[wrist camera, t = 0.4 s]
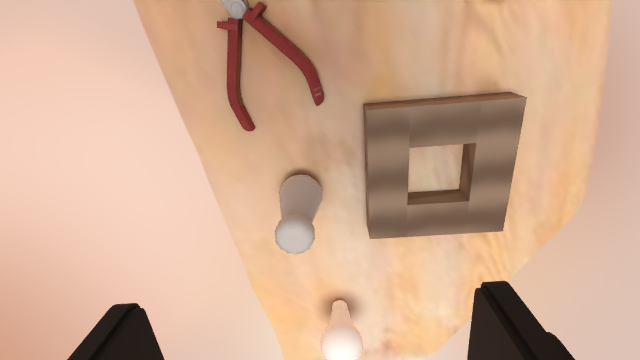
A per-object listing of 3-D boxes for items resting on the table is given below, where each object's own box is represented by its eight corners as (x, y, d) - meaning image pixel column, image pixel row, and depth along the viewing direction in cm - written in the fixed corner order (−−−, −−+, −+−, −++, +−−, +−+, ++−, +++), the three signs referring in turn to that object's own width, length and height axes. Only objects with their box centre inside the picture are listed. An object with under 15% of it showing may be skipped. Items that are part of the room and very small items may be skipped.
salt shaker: (288, 208, 47) (275, 267, 35) (276, 173, 45) (258, 224, 33) (327, 200, 46) (327, 257, 34) (317, 164, 44) (313, 212, 32)
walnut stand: (363, 104, 40) (366, 110, 37) (510, 92, 39) (526, 97, 36) (367, 225, 48) (370, 239, 45) (490, 217, 47) (502, 231, 44)
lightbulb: (347, 283, 53) (352, 342, 43) (363, 307, 55) (372, 369, 45) (315, 296, 54) (312, 356, 44) (332, 320, 56) (333, 382, 46)
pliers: (260, -86, 33) (254, -95, 31) (327, 100, 41) (327, 104, 38) (165, -38, 35) (153, -43, 33) (247, 130, 43) (242, 136, 40)
